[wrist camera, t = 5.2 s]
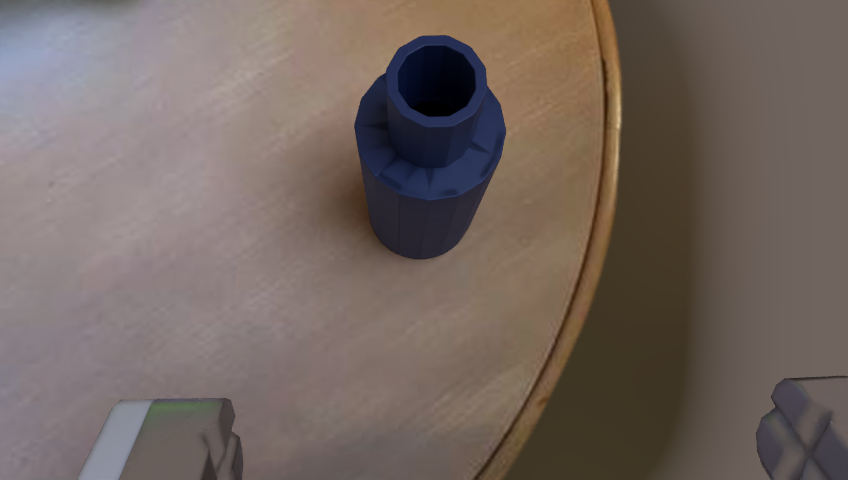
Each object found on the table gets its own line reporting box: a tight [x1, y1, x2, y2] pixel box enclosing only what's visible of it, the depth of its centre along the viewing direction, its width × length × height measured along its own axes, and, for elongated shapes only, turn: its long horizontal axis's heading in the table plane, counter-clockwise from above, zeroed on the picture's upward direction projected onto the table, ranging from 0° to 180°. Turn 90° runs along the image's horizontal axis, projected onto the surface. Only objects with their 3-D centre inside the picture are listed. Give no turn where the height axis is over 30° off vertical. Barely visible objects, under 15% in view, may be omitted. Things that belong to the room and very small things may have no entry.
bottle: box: [354, 35, 506, 259], centre depth 29 cm, size 6×6×16 cm
